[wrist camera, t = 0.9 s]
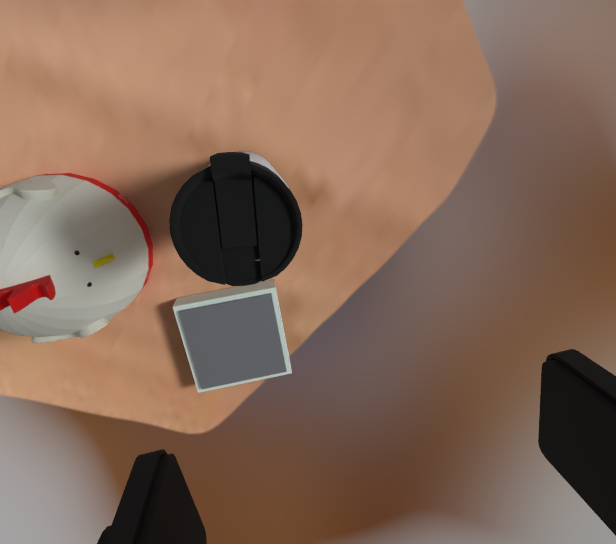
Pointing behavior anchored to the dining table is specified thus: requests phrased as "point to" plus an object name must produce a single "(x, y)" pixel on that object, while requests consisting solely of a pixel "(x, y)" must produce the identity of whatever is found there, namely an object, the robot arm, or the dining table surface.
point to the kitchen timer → (68, 256)
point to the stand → (233, 335)
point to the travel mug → (236, 220)
